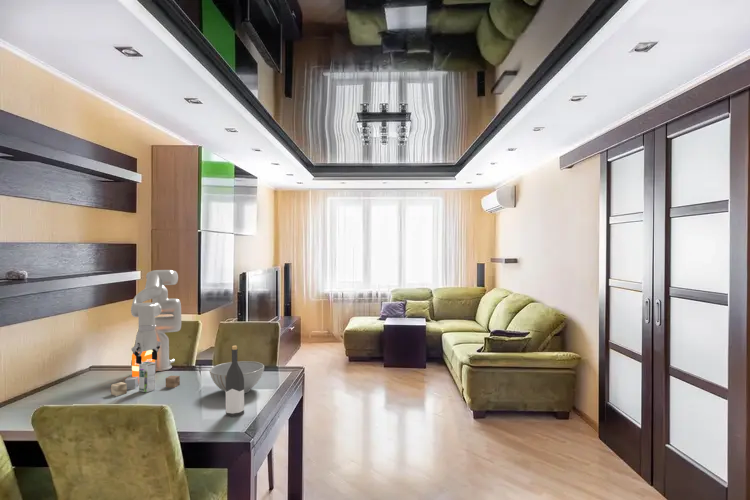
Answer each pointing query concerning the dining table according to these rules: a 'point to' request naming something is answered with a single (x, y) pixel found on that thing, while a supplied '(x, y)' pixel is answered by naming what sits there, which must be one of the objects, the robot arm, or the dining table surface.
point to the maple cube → (118, 389)
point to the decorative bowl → (248, 368)
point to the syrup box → (147, 376)
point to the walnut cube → (172, 381)
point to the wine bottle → (234, 388)
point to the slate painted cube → (132, 382)
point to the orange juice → (145, 357)
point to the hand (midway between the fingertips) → (146, 361)
